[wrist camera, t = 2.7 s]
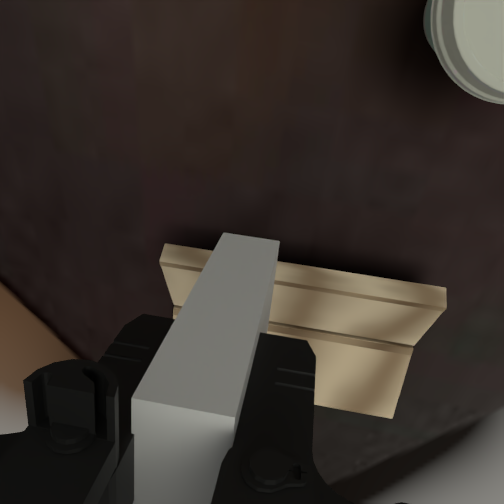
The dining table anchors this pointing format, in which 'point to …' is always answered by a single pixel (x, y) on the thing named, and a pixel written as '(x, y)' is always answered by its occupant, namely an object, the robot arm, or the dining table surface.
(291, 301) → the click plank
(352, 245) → the dining table surface
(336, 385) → the laid plank
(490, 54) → the coffee cup
